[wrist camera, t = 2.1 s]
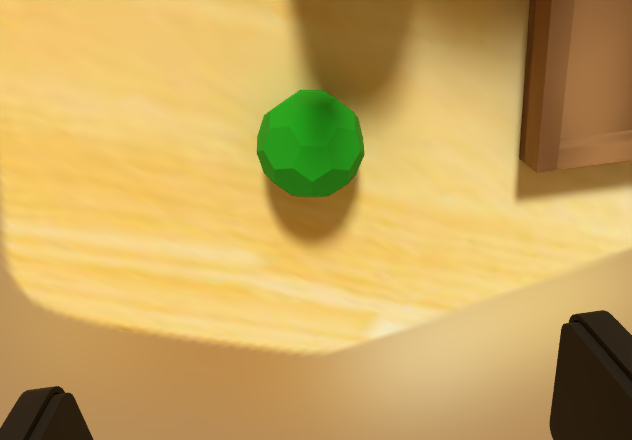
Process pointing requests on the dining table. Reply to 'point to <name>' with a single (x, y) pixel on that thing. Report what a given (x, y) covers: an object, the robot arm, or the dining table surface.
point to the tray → (577, 84)
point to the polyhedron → (310, 144)
